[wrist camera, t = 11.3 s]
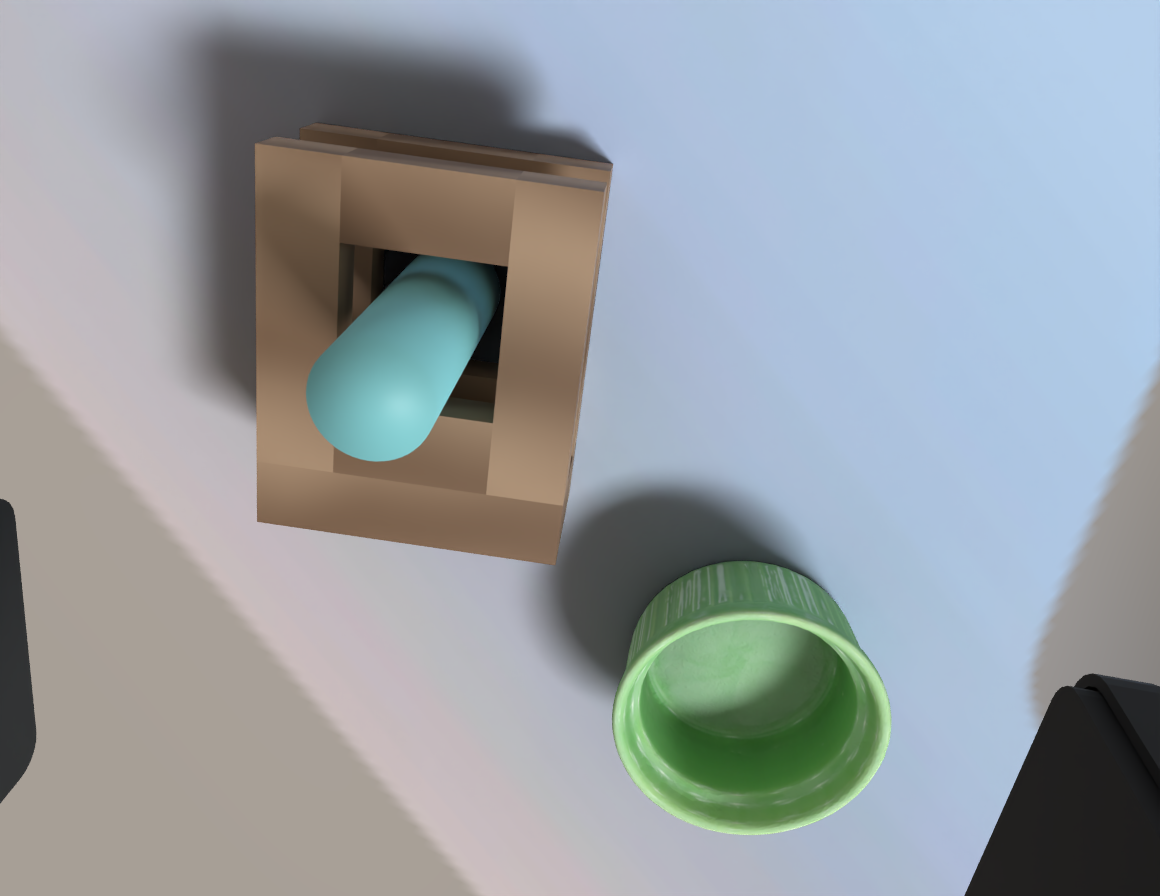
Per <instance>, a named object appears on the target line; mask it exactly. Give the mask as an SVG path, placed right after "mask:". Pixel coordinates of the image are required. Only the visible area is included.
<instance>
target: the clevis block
mask: <svg viewBox="0 0 1160 896" xmlns="http://www.w3.org/2000/svg"><path fill="white" fill-rule="evenodd" d="M612 169H613V164H610V163H603V162H596V161H589V160H581V159H574V158H567V157H560V156H553V155H545V154H538V153H531V152H524V151H516V150H509V149H502V148H495V147H488V146H480V145H473V144H466V143H459V142H452V141H444V140H437V139H430V138H423V137H415V136H408V135H401V134H394V133H387V132H379V131H372V130H365V129H358V128H351V127H343V126H336V125H329V124H322V123H314V124H311V125H308V126H305V127H302V128H300V140H297V139H290V138H283V137H276V136H275V137H272V138H269V139H266V140H264V141H261V142H258V143H255V244H256V409H257V522H263V523H270V524H276V525H283V526H290V527H297V528H304V529H311V530H317V531H324V532H331V533H338V534H345V535H352V536H358V537H365V538H372V539H379V540H386V541H393V542H399V543H406V544H413V545H420V546H427V547H433V548H440V549H447V550H454V551H461V552H468V553H474V554H481V555H488V556H495V557H502V558H509V559H515V560H522V561H529V562H536V563H543V564H550V565H555V564H556V559H557V553H558V548H559V543H560V538H561V533H562V528H563V522H564V517H565V512H566V507H567V502H568V497H569V491H570V484H571V476H572V469H573V461H574V454H575V446H576V439H577V431H578V424H579V416H580V409H581V401H582V394H583V386H584V379H585V371H586V364H587V356H588V349H589V341H590V334H591V326H592V319H593V311H594V304H595V296H596V289H597V281H598V274H599V266H600V259H601V251H602V244H603V236H604V229H605V221H606V214H607V206H608V199H609V191H610V184H611V176H612ZM385 249H387V250H394V251H401V252H408V253H415V254H423V255H430V256H437V257H444V258H451V259H458V260H465V261H472V262H479V263H486V264H494V265H501V266H508V273H507V283H506V293H505V304H504V314H503V325H502V335H501V345H500V356H499V363H494V362H487V361H480V360H473V359H469V361H468V363H467V365H466V367H465V369H464V370H463V372H462V374H461V376H460V378H459V380H458V381H457V383H456V385H455V387H454V389H453V391H452V393H451V394H450V396H449V398H448V400H447V402H446V404H445V405H444V407H443V409H442V411H441V413H440V415H439V416H438V418H437V420H436V422H435V424H434V426H433V427H432V429H431V431H430V433H429V435H428V436H427V438H426V439H425V440H424V441H423V443H422V444H421V445H420V446H419V447H417V448H416V449H415V450H414V451H412V452H411V453H409V454H407V455H405V456H403V457H401V458H398V459H394V460H389V461H377V462H376V461H367V460H362V459H358V458H355V457H352V456H350V455H348V454H346V453H344V452H342V451H340V450H339V449H337V448H336V447H334V446H333V445H332V444H330V443H329V442H328V441H327V440H326V439H325V438H324V437H323V435H322V434H321V433H320V432H319V431H318V429H317V427H316V426H315V424H314V422H313V420H312V418H311V416H310V413H309V410H308V406H307V401H306V385H307V380H308V376H309V374H310V371H311V369H312V367H313V365H314V364H315V362H316V361H317V359H318V358H319V357H320V356H321V355H322V354H323V353H324V352H325V351H326V350H327V349H328V348H329V347H330V345H331V344H332V343H333V342H334V341H335V340H336V339H337V338H338V337H339V336H340V335H341V334H342V333H343V332H344V331H345V330H346V329H347V328H348V327H349V326H350V325H351V324H352V323H353V322H354V321H355V320H356V319H357V318H358V317H359V316H360V315H361V314H362V313H363V312H364V311H365V310H366V309H367V307H368V306H369V305H370V304H371V303H372V302H373V301H374V300H375V299H376V298H377V297H378V296H379V295H380V294H381V293H382V292H383V275H384V253H385Z"/></svg>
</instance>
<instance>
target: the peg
mask: <svg viewBox="0 0 1160 896" xmlns="http://www.w3.org/2000/svg"><path fill="white" fill-rule="evenodd" d="M499 300H500V283H499V278H498V275H497V273H496V271H495V269H494V267H493V265H492V264H486V263H479V262H472V261H465V260H458V259H451V258H444V257H437V256H430V255H423V254H419V255H418V256H417V257H416V258H415V259H414V260H413V261H412V262H411V263H410V264H409V265H408V266H407V267H406V268H405V269H404V270H403V272H402V273H401V274H400V275H399V276H398V277H397V278H396V279H395V280H394V281H393V282H392V283H391V284H390V285H389V286H388V287H387V288H386V289H385V290H384V291H383V292H382V293H381V294H380V295H379V296H378V297H377V298H376V299H375V300H374V301H373V302H372V303H371V304H370V305H369V306H368V307H367V309H366V310H365V311H364V312H363V313H362V314H361V315H360V316H359V317H358V318H357V319H356V320H355V321H354V322H353V323H352V324H351V325H350V326H349V327H348V328H347V329H346V330H345V331H344V332H343V333H342V334H341V335H340V336H339V337H338V338H337V339H336V340H335V341H334V342H333V343H332V344H331V345H330V347H329V348H328V349H327V350H326V351H325V352H324V353H323V354H322V355H321V356H320V357H319V358H318V359H317V361H316V362H315V364H314V365H313V367H312V369H311V371H310V374H309V376H308V380H307V385H306V401H307V406H308V410H309V413H310V416H311V418H312V420H313V422H314V424H315V426H316V427H317V429H318V431H319V432H320V433H321V434H322V435H323V437H324V438H325V439H326V440H327V441H328V442H329V443H330V444H332V445H333V446H334V447H336V448H337V449H339V450H340V451H342V452H344V453H346V454H348V455H350V456H352V457H355V458H358V459H362V460H367V461H376V462H377V461H389V460H394V459H398V458H401V457H403V456H405V455H407V454H409V453H411V452H412V451H414V450H415V449H416V448H417V447H419V446H420V445H421V444H422V443H423V441H424V440H425V439H426V438H427V436H428V435H429V433H430V431H431V429H432V427H433V426H434V424H435V422H436V420H437V418H438V416H439V415H440V413H441V411H442V409H443V407H444V405H445V404H446V402H447V400H448V398H449V396H450V394H451V393H452V391H453V389H454V387H455V385H456V383H457V381H458V380H459V378H460V376H461V374H462V372H463V370H464V369H465V367H466V365H467V363H468V361H469V359H470V358H471V356H472V354H473V352H474V350H475V348H476V347H477V345H478V343H479V341H480V339H481V337H482V336H483V334H484V332H485V330H486V328H487V326H488V324H489V323H490V321H491V319H492V317H493V315H494V313H495V311H496V309H497V307H498V304H499Z"/></svg>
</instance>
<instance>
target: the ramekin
mask: <svg viewBox="0 0 1160 896" xmlns="http://www.w3.org/2000/svg"><path fill="white" fill-rule="evenodd" d="M612 728H613V735H614V740H615V744H616V748H617V751H618V754H619V756H620V759H621V761H622V763H623V765H624V767H625V769H626V771H627V772H628V774H629V775H630V777H631V779H632V780H633V781H634V783H635V784H636V785H637V786H638V787H639V788H640V790H641V791H642V792H643V793H644V794H645V795H646V796H647V797H648V798H649V799H650V800H652V801H653V802H654V803H655V804H657V805H658V806H659V807H661V808H662V809H664V810H665V811H667V812H668V813H670V814H671V815H673V816H675V817H677V818H679V819H681V820H683V821H685V822H688V823H690V824H693V825H696V826H699V827H702V828H704V829H708V830H712V831H717V832H722V833H728V834H739V835H761V834H772V833H779V832H784V831H788V830H792V829H796V828H799V827H803V826H806V825H809V824H811V823H814V822H816V821H819V820H821V819H823V818H824V817H826V816H828V815H831V814H833V813H834V812H836V811H837V810H839V809H840V808H842V807H843V806H845V805H846V804H847V803H848V802H850V801H851V800H852V799H853V798H854V797H856V796H857V795H858V794H859V793H860V792H861V791H862V790H863V789H864V787H865V786H866V785H867V784H868V783H869V781H870V780H871V779H872V777H873V776H874V775H875V773H876V771H877V769H878V768H879V766H880V765H881V763H882V760H883V758H884V756H885V753H886V750H887V747H888V744H889V739H890V732H891V711H890V704H889V699H888V696H887V692H886V689H885V687H884V684H883V681H882V679H881V677H880V675H879V674H878V672H877V670H876V668H875V667H874V665H873V664H872V662H871V661H870V659H869V658H868V657H867V655H866V654H865V653H864V651H863V650H862V649H861V648H860V647H859V644H858V642H857V640H856V638H855V636H854V634H853V631H852V629H851V627H850V625H849V623H848V621H847V619H846V617H845V615H844V614H843V612H842V611H841V609H840V608H839V606H838V605H837V604H836V602H835V601H834V600H833V599H832V598H831V597H830V596H829V595H828V594H827V593H826V592H825V591H824V590H823V589H822V588H821V587H819V586H818V585H817V584H815V583H814V582H812V581H811V580H809V579H808V578H806V577H804V576H802V575H800V574H798V573H796V572H793V571H791V570H789V569H787V568H783V567H779V566H777V565H773V564H767V563H761V562H754V561H730V562H722V563H718V564H713V565H709V566H705V567H702V568H700V569H696V570H693V571H691V572H690V573H688V574H686V575H684V576H682V577H680V578H679V579H677V580H676V581H674V582H673V583H671V584H669V585H668V586H666V587H665V588H664V589H663V590H662V591H661V592H660V593H658V594H657V595H656V596H655V597H654V599H653V600H652V601H651V602H650V603H649V605H648V606H647V607H646V609H645V611H644V612H643V614H642V615H641V617H640V619H639V621H638V624H637V626H636V628H635V630H634V633H633V637H632V641H631V645H630V649H629V654H628V659H627V665H626V670H625V672H624V674H623V677H622V679H621V681H620V683H619V686H618V689H617V691H616V695H615V700H614V704H613V713H612Z"/></svg>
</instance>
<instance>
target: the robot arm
mask: <svg viewBox="0 0 1160 896" xmlns="http://www.w3.org/2000/svg"><path fill="white" fill-rule="evenodd" d="M35 743H36V724H35V715H34V704H33V694H32V684H31V674H30V663H29V654H28V643H27V633H26V623H25V614H24V603H23V592H22V582H21V572H20V563H19V551H18V541H17V531H16V521H15V515H14V510H13V508H12V506H11V505H10V503H9V502H7V501H6V500H3V499H0V803H1V802H2V801H3V799H4V798H5V797H6V796H7V794H8V793H9V792H10V791H11V789H12V788H13V787H14V786H15V784H16V783H17V782H18V781H19V780H20V778H21V777H22V775H23V774H24V772H25V771H26V769H27V767H28V765H29V763H30V761H31V758H32V755H33V752H34V748H35ZM965 896H1160V687H1159V686H1157V685H1154V684H1150V683H1144V682H1138V681H1132V680H1127V679H1121V678H1115V677H1110V676H1103V675H1098V674H1088V675H1085V676H1083V677H1082V678H1081V679H1080V680H1079V681H1077V683H1076V685H1075V686H1074V687H1071V686H1065V687H1061V688H1060V689H1059V690H1058V691H1057V692H1056V693H1055V695H1054V697H1053V698H1052V700H1051V703H1050V705H1049V707H1048V709H1047V712H1046V714H1045V716H1044V718H1043V721H1042V723H1041V725H1040V727H1039V730H1038V732H1037V734H1036V736H1035V739H1034V741H1033V743H1032V745H1031V747H1030V750H1029V752H1028V754H1027V756H1026V759H1025V761H1024V763H1023V765H1022V768H1021V770H1020V772H1019V774H1018V777H1017V779H1016V781H1015V783H1014V786H1013V788H1012V790H1011V792H1010V795H1009V797H1008V799H1007V801H1006V804H1005V806H1004V808H1003V810H1002V813H1001V815H1000V817H999V819H998V822H997V824H996V826H995V828H994V831H993V833H992V835H991V837H990V839H989V842H988V844H987V846H986V848H985V851H984V853H983V855H982V857H981V860H980V862H979V864H978V866H977V869H976V871H975V873H974V875H973V878H972V880H971V882H970V884H969V887H968V889H967V891H966V893H965Z"/></svg>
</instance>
